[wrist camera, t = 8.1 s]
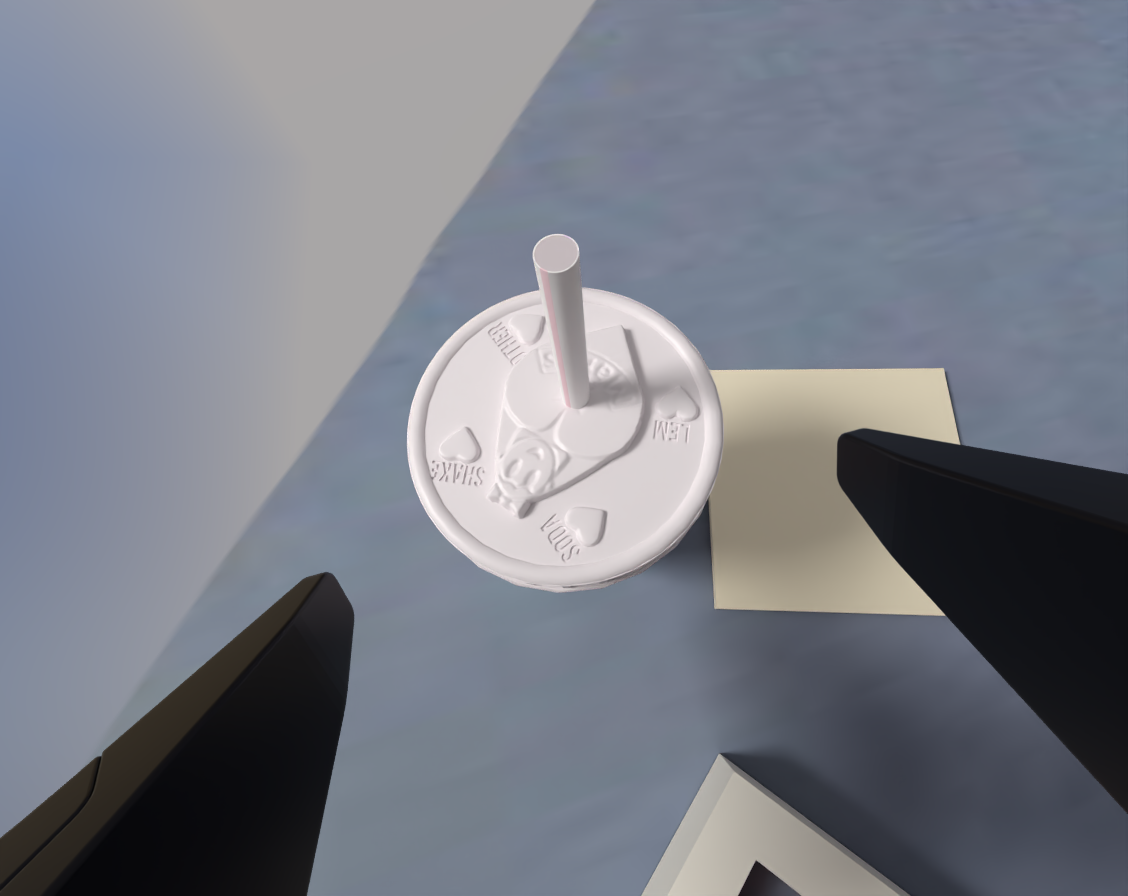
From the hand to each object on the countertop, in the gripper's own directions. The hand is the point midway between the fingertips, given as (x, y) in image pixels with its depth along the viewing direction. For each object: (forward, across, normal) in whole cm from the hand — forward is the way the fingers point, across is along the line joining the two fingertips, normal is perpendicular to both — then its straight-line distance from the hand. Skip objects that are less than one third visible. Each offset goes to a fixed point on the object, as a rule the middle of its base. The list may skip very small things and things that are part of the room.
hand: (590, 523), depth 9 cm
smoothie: (+9, 0, +6) cm, 11 cm away
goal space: (+8, -9, +7) cm, 14 cm away
